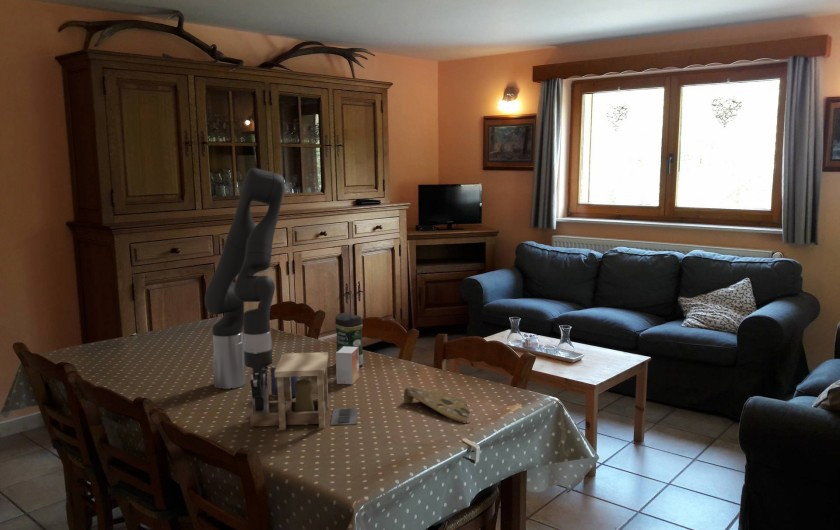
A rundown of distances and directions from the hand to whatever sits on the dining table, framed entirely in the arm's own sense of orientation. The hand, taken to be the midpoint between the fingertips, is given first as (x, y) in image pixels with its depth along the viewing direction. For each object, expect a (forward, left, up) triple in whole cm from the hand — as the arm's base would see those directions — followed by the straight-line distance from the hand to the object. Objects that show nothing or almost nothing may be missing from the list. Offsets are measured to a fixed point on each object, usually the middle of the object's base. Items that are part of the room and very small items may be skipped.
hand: (260, 407), depth 186 cm
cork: (+12, 0, -4) cm, 13 cm away
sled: (+8, 0, -3) cm, 8 cm away
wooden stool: (+16, 0, -4) cm, 16 cm away
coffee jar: (+23, +49, -4) cm, 54 cm away
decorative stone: (+53, +4, -4) cm, 53 cm away
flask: (+4, +20, -4) cm, 21 cm away
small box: (+23, +32, -4) cm, 40 cm away
